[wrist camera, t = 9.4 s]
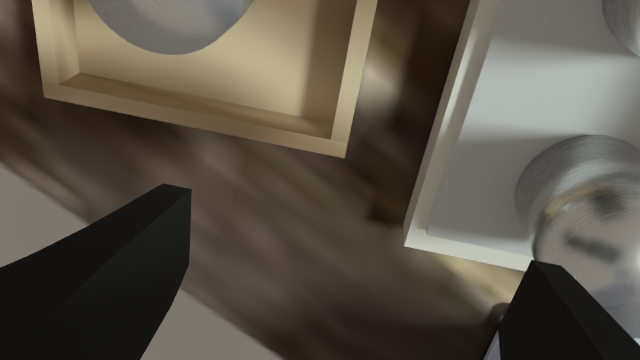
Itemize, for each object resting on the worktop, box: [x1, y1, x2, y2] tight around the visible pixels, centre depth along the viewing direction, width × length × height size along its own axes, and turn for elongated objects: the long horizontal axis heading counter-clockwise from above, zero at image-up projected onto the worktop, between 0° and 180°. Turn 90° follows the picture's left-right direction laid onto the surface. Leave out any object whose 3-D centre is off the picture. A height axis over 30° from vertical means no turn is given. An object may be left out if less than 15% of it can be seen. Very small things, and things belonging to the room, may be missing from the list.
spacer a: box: [514, 135, 640, 339], centre depth 16 cm, size 4×4×4 cm
